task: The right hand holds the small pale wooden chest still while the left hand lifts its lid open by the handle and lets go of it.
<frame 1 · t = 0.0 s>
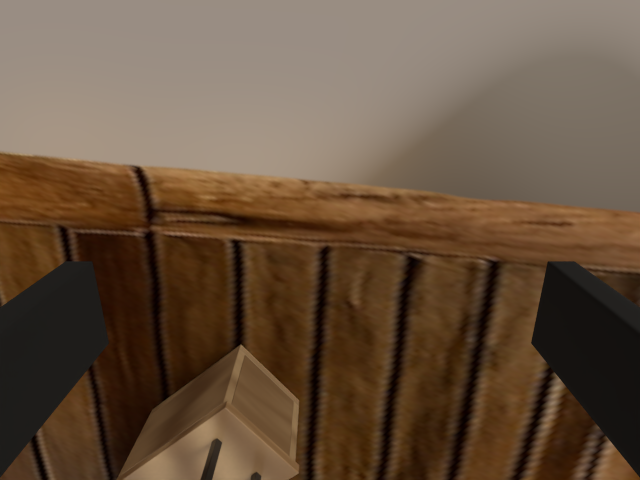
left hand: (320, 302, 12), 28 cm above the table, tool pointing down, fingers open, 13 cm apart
chest: (225, 404, 49), on the table
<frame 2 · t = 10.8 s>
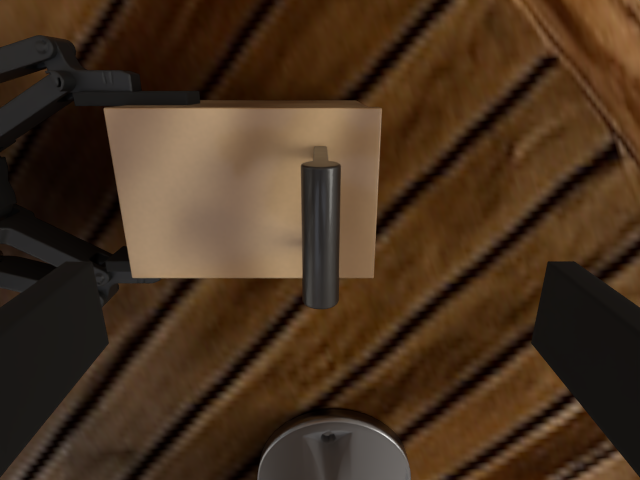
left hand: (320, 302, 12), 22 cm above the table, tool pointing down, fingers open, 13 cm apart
lid: (238, 215, 21), point 13 cm above the table, hinge at 0.0°
chest: (264, 166, 33), on the table, touching right hand
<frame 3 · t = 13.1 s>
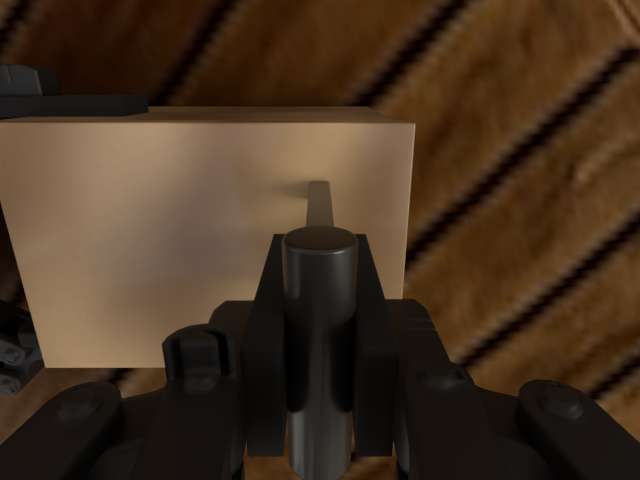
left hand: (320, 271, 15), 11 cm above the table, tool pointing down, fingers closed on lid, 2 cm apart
lid: (187, 297, 13), point 13 cm above the table, hinge at 0.0°, touching left hand
chest: (246, 193, 25), on the table, touching right hand
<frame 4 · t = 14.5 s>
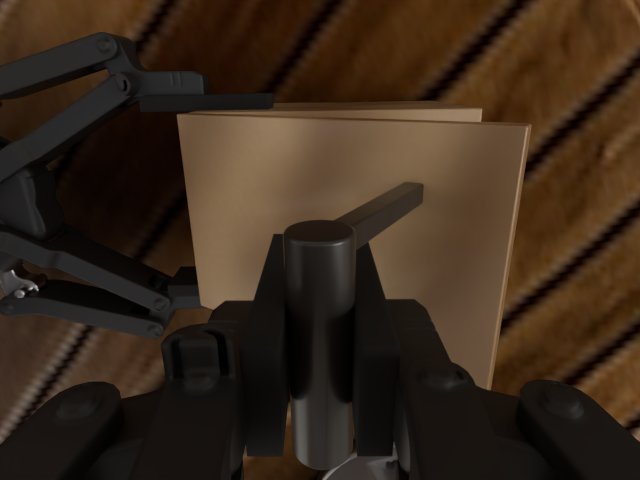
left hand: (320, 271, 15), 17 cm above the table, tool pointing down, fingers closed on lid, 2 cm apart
lid: (268, 269, 15), point 16 cm above the table, hinge at 32.1°, touching left hand
chest: (329, 174, 30), on the table, touching right hand
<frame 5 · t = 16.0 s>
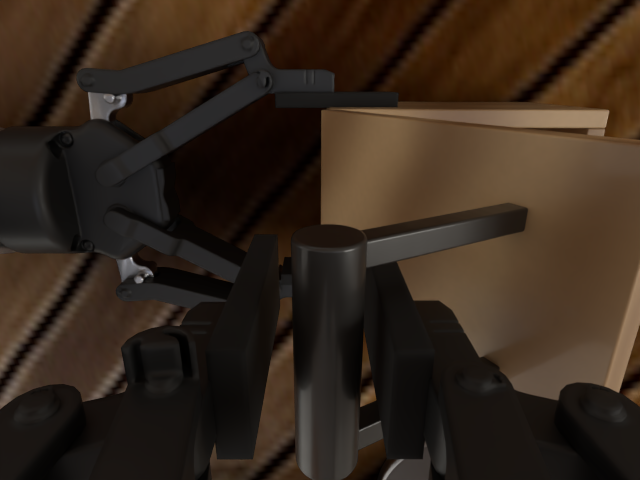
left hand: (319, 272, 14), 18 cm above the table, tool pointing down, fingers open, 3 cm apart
right hand: (388, 191, 26), fingers closed on chest, 10 cm apart
lid: (346, 269, 15), point 18 cm above the table, hinge at 60.8°
chest: (421, 171, 31), on the table, touching right hand
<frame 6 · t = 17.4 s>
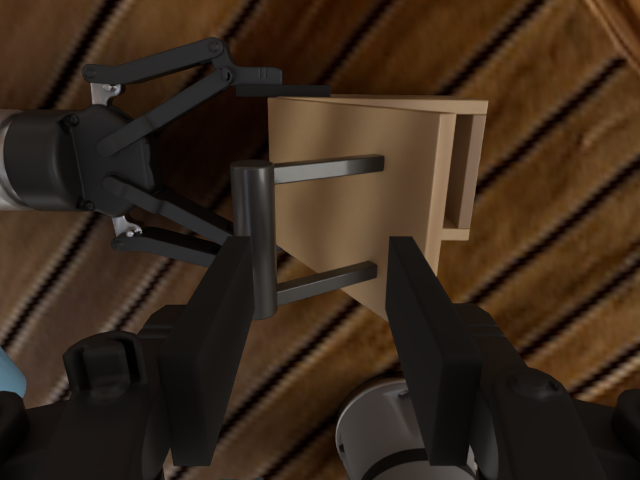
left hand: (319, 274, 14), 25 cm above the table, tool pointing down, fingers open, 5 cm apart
right hand: (328, 164, 32), fingers closed on chest, 10 cm apart
lid: (278, 205, 21), point 17 cm above the table, hinge at 57.5°
chest: (364, 152, 38), on the table, touching right hand
when the right hand's fingers open (6 cm above the table, at t = 19.9 s): chest stays where it is, on the table.
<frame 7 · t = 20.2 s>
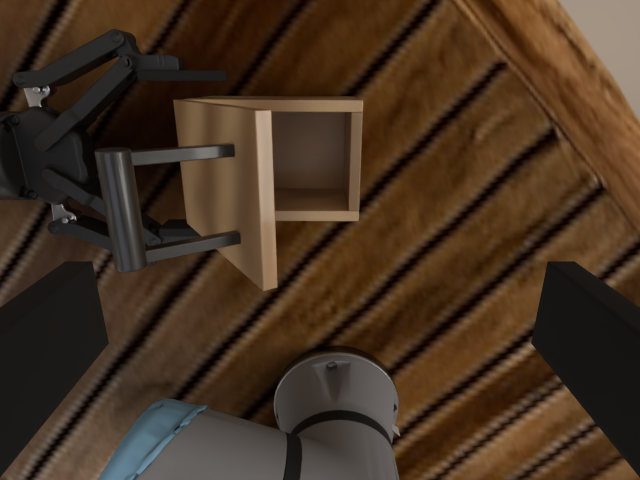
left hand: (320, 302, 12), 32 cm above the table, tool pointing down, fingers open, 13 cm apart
right hand: (229, 156, 37), fingers open, 12 cm apart
lid: (165, 187, 26), point 18 cm above the table, hinge at 57.1°
chest: (283, 147, 43), on the table
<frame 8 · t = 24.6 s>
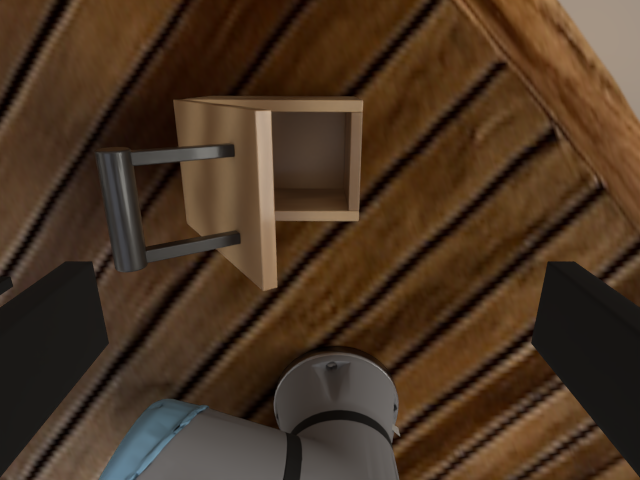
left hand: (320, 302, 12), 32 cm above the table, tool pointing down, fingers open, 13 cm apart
lid: (165, 187, 26), point 17 cm above the table, hinge at 57.1°
chest: (283, 147, 43), on the table
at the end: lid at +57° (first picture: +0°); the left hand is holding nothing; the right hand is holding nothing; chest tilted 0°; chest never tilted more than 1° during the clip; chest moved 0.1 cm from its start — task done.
